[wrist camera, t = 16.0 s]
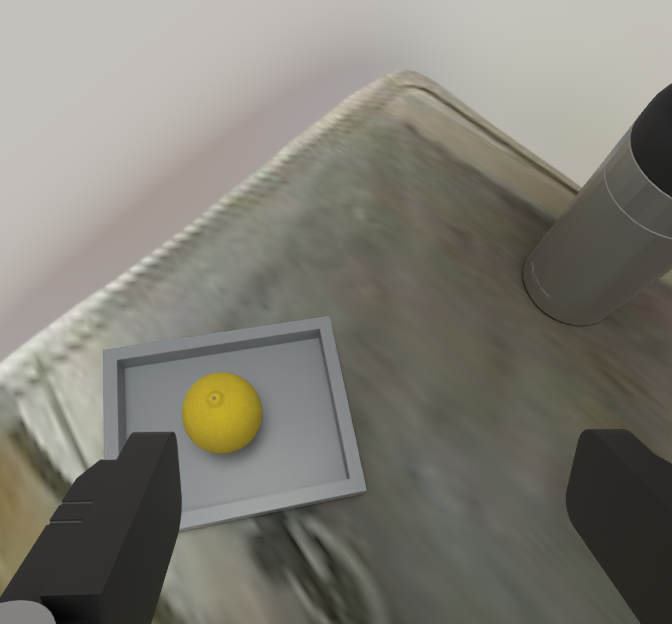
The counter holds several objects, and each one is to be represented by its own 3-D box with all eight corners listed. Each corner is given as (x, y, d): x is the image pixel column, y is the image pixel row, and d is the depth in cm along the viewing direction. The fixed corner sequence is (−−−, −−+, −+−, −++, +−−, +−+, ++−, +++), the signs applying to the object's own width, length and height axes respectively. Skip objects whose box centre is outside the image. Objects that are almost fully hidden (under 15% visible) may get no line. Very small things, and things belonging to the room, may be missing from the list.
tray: (327, 330, 44) (329, 315, 42) (361, 494, 39) (366, 490, 36) (115, 363, 42) (103, 350, 39) (118, 544, 36) (104, 544, 33)
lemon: (195, 392, 40) (173, 358, 33) (265, 390, 41) (258, 356, 33) (191, 463, 38) (166, 443, 31) (265, 460, 38) (257, 439, 31)
